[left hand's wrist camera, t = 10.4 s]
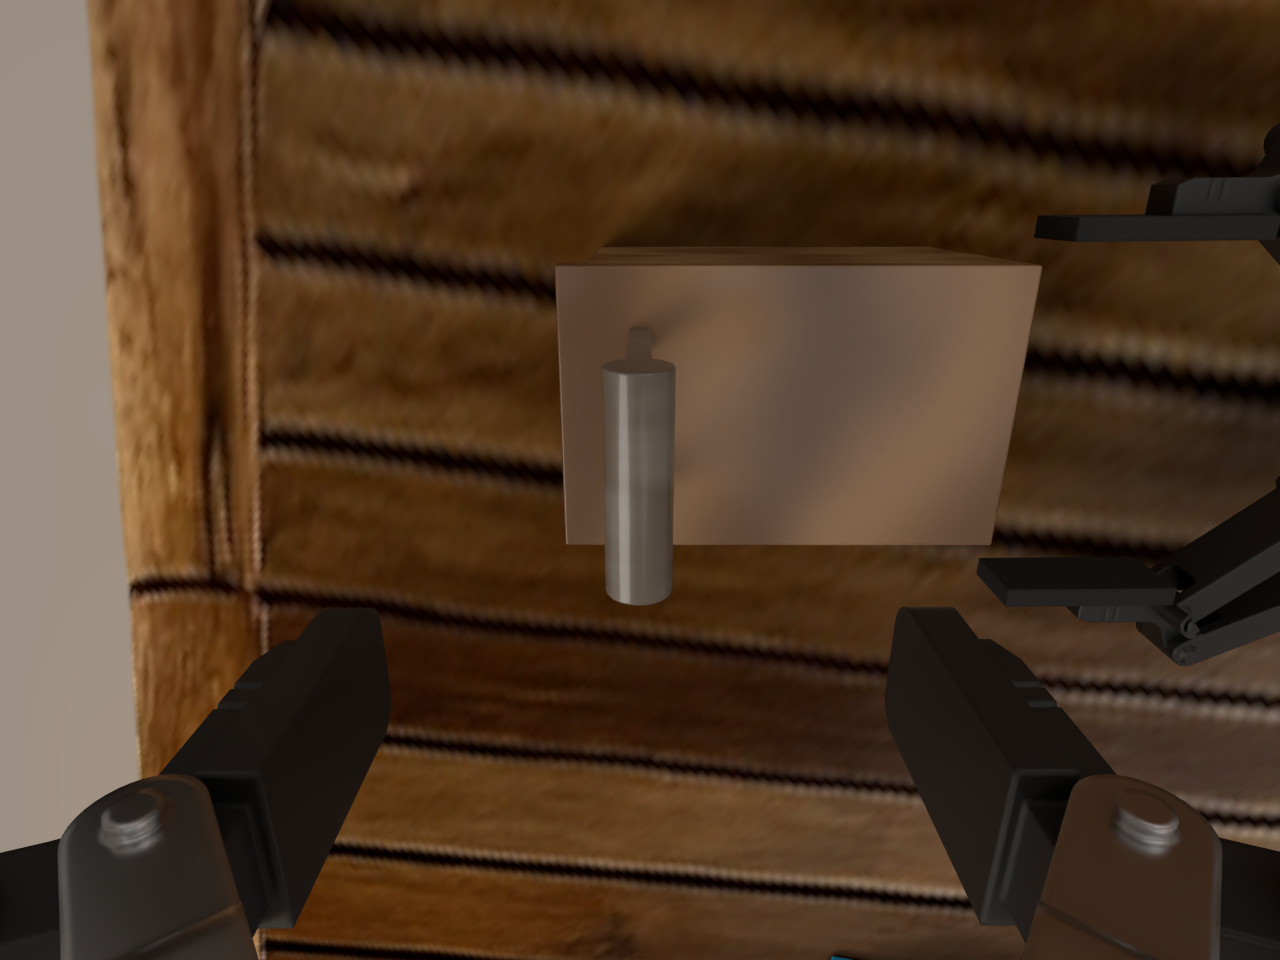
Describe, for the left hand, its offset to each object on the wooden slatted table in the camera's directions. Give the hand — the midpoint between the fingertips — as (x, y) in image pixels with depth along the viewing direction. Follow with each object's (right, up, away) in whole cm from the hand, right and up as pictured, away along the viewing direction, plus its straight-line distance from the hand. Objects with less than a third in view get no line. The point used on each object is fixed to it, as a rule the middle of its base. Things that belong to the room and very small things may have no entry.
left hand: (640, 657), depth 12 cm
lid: (+5, +5, +14) cm, 15 cm away
